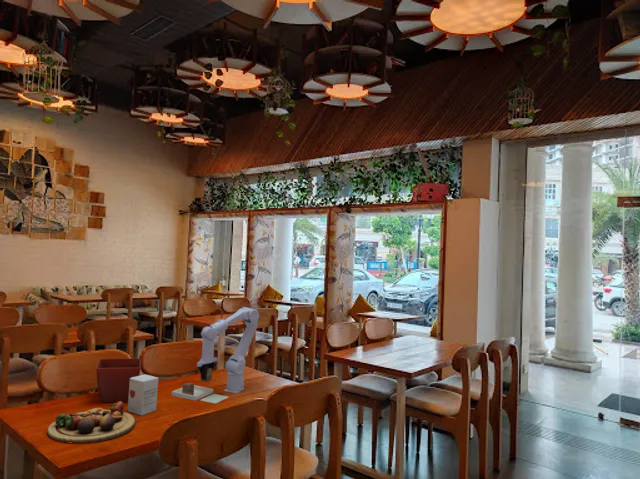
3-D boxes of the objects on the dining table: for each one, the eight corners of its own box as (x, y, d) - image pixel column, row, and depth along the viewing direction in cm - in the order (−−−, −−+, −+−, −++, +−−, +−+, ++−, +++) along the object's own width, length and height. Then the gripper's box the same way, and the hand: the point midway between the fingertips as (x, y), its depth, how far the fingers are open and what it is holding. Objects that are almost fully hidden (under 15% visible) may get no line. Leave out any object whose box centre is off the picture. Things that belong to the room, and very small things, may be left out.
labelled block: (211, 380, 246) (212, 368, 246) (206, 382, 242) (207, 369, 242) (204, 379, 247) (205, 366, 248) (200, 380, 244) (201, 368, 244)
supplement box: (126, 411, 216) (128, 377, 217) (142, 406, 224) (144, 373, 225) (141, 415, 212) (143, 381, 212) (156, 410, 220) (159, 377, 220)
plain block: (186, 394, 244) (187, 382, 244) (193, 395, 242) (194, 383, 242) (181, 396, 240) (182, 384, 240) (188, 397, 238) (189, 385, 239)
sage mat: (213, 395, 247) (213, 393, 247) (229, 398, 244) (229, 396, 244) (199, 401, 236) (199, 400, 236) (215, 404, 233) (215, 403, 233)
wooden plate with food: (110, 409, 218) (111, 391, 218) (150, 428, 198) (151, 408, 198) (33, 429, 193) (34, 408, 193) (69, 453, 173) (70, 430, 173)
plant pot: (138, 391, 246) (140, 357, 246) (138, 403, 228) (140, 367, 228) (97, 393, 239) (99, 358, 240) (93, 405, 222) (96, 368, 222)
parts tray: (190, 389, 254) (190, 384, 254) (212, 393, 249) (213, 388, 249) (171, 396, 240) (171, 391, 240) (195, 401, 235) (195, 396, 235)
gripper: (209, 347, 253) (208, 373, 253) (192, 352, 240) (190, 380, 240) (221, 349, 251) (219, 376, 250) (204, 354, 237) (202, 382, 237)
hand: (206, 378), depth 245 cm, fingers closed on labelled block, 4 cm apart
